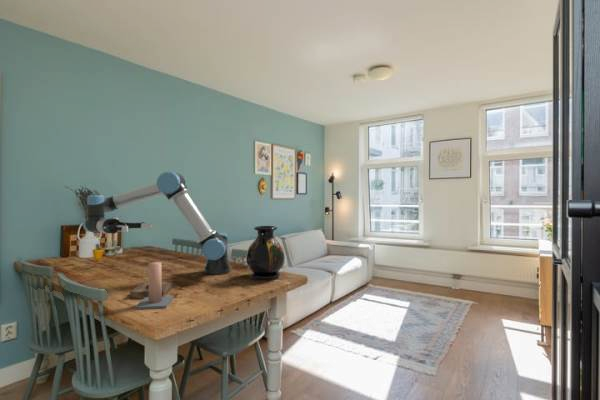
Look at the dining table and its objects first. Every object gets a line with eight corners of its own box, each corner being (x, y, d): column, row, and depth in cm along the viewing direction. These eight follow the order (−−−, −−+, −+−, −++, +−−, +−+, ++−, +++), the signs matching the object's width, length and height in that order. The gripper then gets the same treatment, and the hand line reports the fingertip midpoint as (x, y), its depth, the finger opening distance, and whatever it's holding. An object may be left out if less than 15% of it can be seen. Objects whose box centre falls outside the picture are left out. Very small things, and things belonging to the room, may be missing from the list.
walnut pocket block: (171, 288, 155) (171, 282, 155) (163, 297, 141) (163, 290, 141) (141, 289, 153) (141, 283, 153) (130, 298, 140) (130, 291, 139)
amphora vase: (279, 283, 165) (279, 229, 164) (240, 281, 168) (240, 228, 168) (288, 273, 186) (288, 225, 185) (253, 271, 190) (253, 224, 189)
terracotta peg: (163, 299, 136) (163, 262, 136) (159, 303, 131) (159, 264, 131) (150, 299, 135) (150, 262, 135) (146, 303, 130) (146, 264, 130)
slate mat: (173, 298, 140) (173, 296, 140) (166, 308, 128) (166, 305, 128) (145, 299, 138) (145, 297, 138) (134, 309, 127) (134, 307, 127)
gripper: (130, 230, 173) (160, 232, 165) (84, 236, 150) (116, 238, 142) (130, 216, 173) (159, 217, 165) (84, 220, 150) (116, 221, 142)
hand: (139, 227), depth 154 cm, fingers open, 13 cm apart
